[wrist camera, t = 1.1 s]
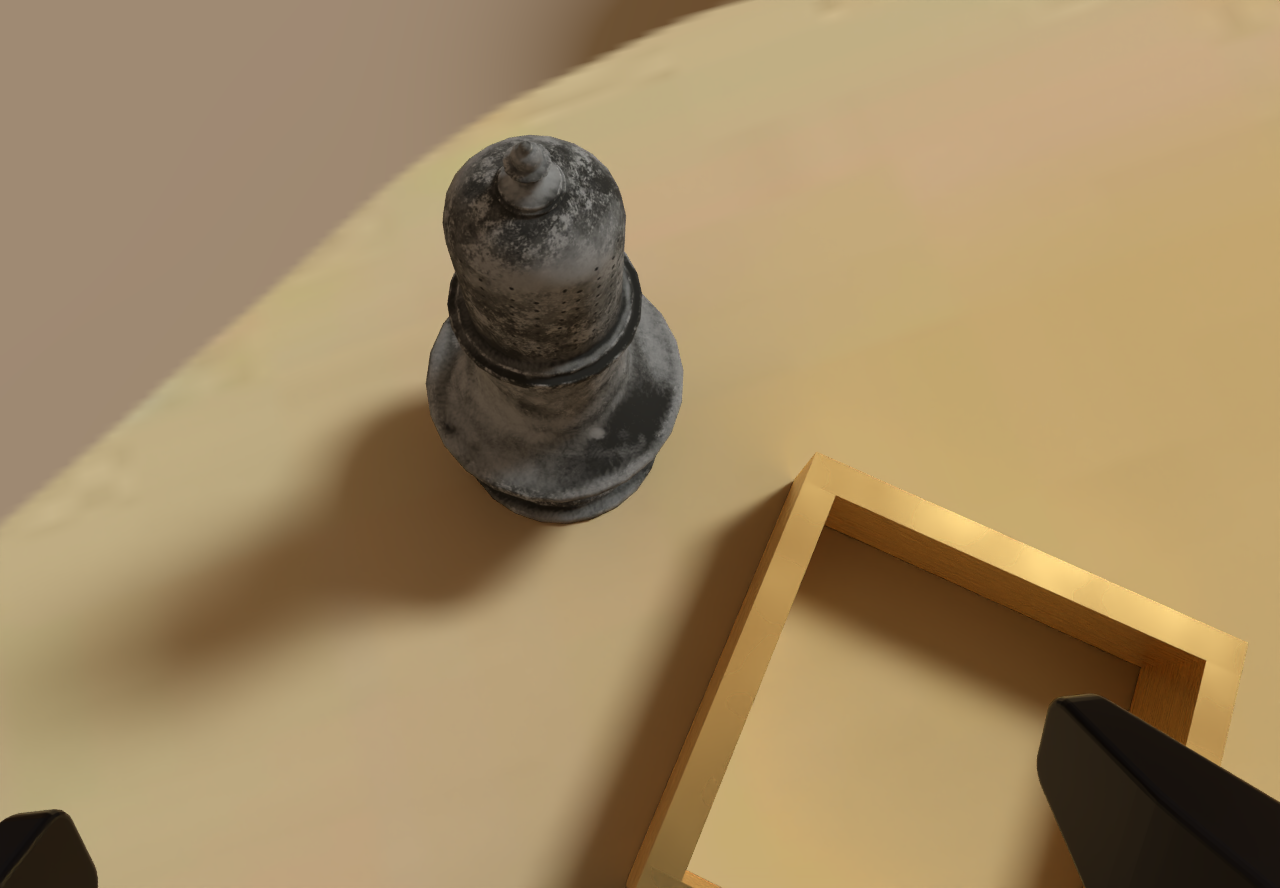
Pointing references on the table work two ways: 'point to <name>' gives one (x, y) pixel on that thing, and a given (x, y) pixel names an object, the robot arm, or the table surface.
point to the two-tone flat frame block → (965, 555)
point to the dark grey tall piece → (548, 336)
